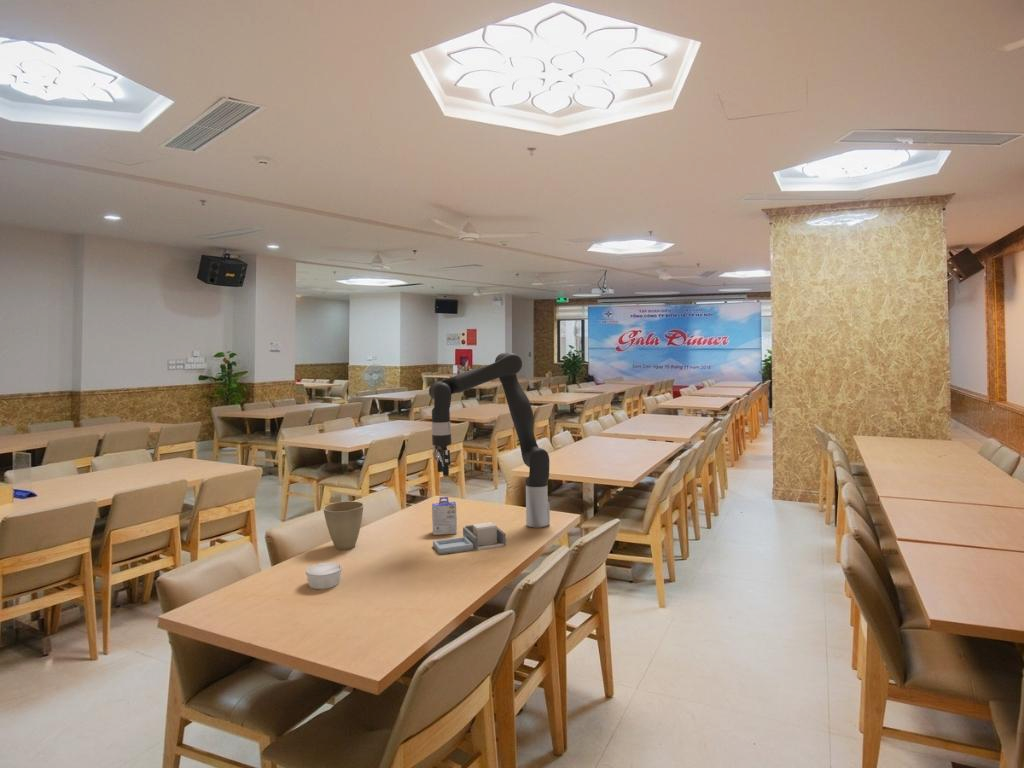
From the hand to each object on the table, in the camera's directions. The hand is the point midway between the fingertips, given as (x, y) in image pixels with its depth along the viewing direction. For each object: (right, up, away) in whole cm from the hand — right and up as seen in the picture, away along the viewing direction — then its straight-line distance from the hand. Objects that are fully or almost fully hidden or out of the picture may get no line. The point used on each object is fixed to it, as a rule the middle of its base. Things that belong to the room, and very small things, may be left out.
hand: (443, 473), depth 232 cm
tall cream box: (+17, -26, -3) cm, 31 cm away
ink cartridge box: (0, -26, +10) cm, 28 cm away
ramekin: (-34, -30, -42) cm, 61 cm away
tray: (+5, -27, -9) cm, 29 cm away
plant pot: (-37, -28, -6) cm, 47 cm away
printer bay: (+17, -26, -3) cm, 31 cm away
